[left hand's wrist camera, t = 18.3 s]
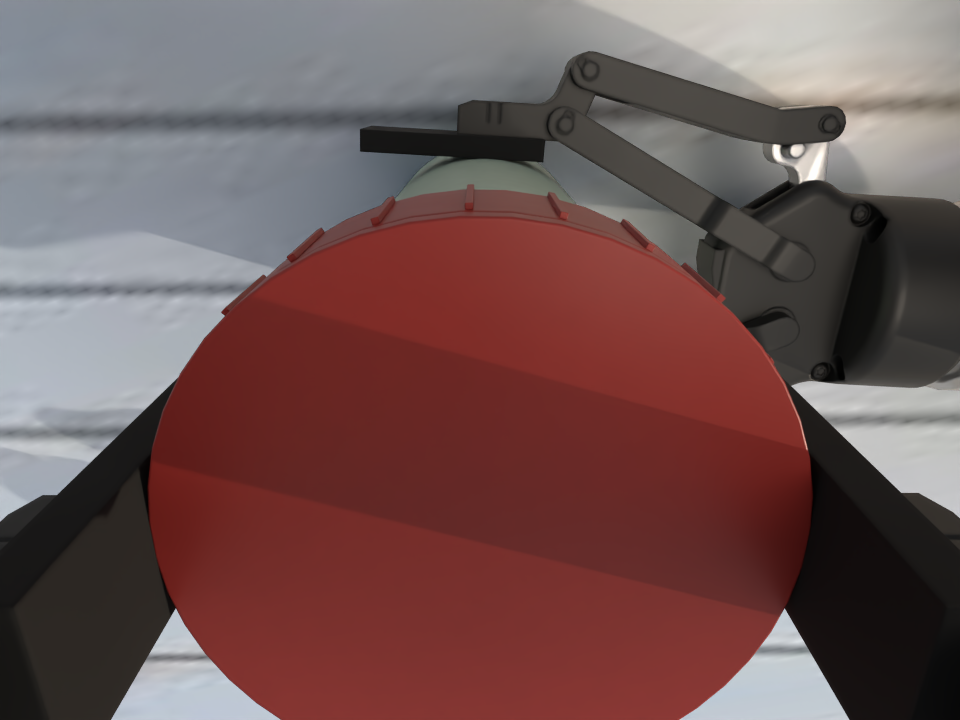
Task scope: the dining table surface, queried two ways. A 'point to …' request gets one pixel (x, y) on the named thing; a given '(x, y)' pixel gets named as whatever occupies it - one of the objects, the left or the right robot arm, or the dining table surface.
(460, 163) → the jar
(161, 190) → the dining table surface
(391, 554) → the lid
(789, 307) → the right robot arm
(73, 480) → the left robot arm
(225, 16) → the dining table surface
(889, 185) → the dining table surface
